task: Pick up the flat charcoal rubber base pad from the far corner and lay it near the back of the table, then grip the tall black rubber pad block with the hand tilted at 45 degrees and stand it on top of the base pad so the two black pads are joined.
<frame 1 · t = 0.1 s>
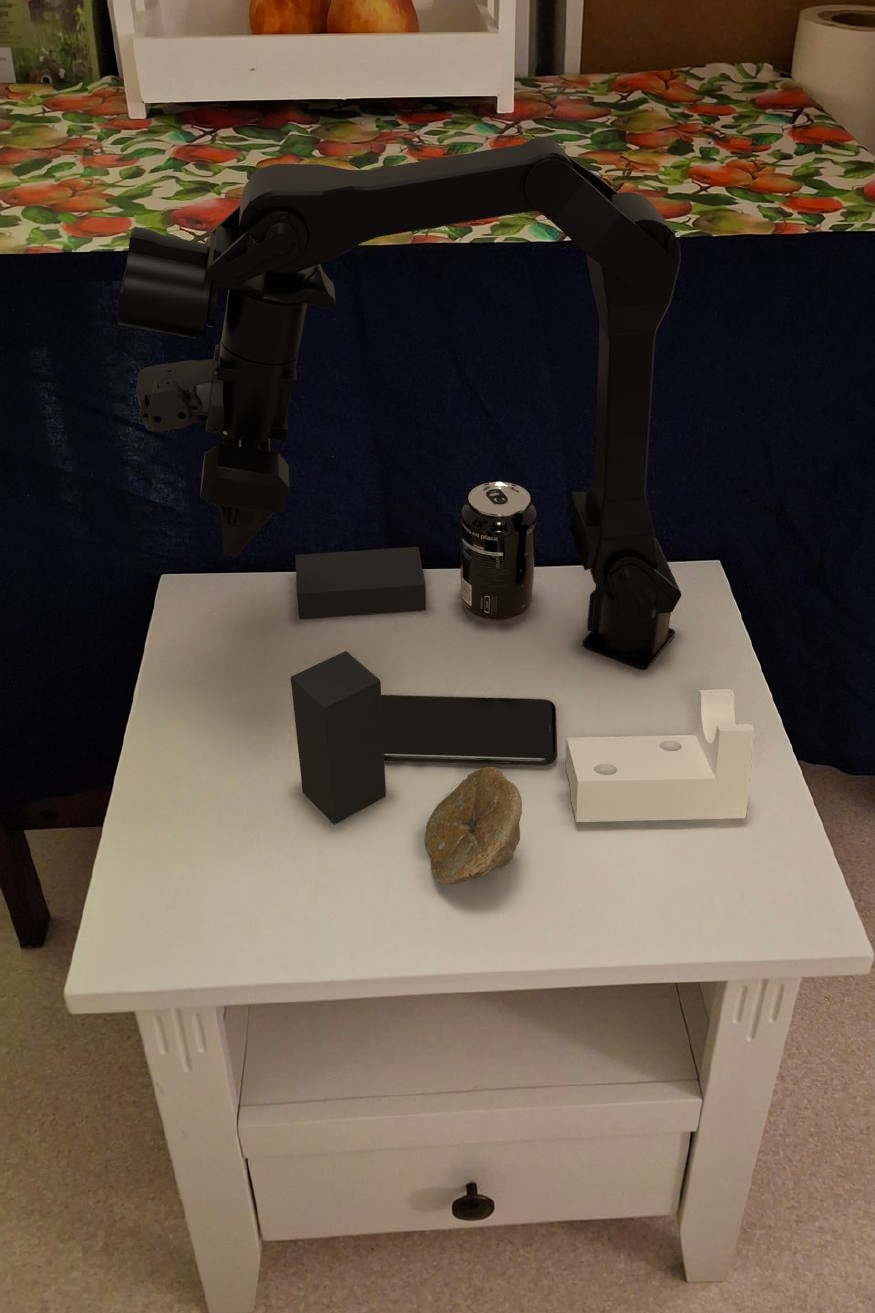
hand: (231, 523, 100), 15 cm above the table, tool pointing down, fingers open, 9 cm apart
smartphone: (460, 735, 102), on the table
beverage can: (496, 607, 116), on the table
black pad block: (344, 794, 97), on the table
bracket: (650, 789, 97), on the table
base pad: (360, 594, 118), on the table
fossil: (471, 858, 92), on the table
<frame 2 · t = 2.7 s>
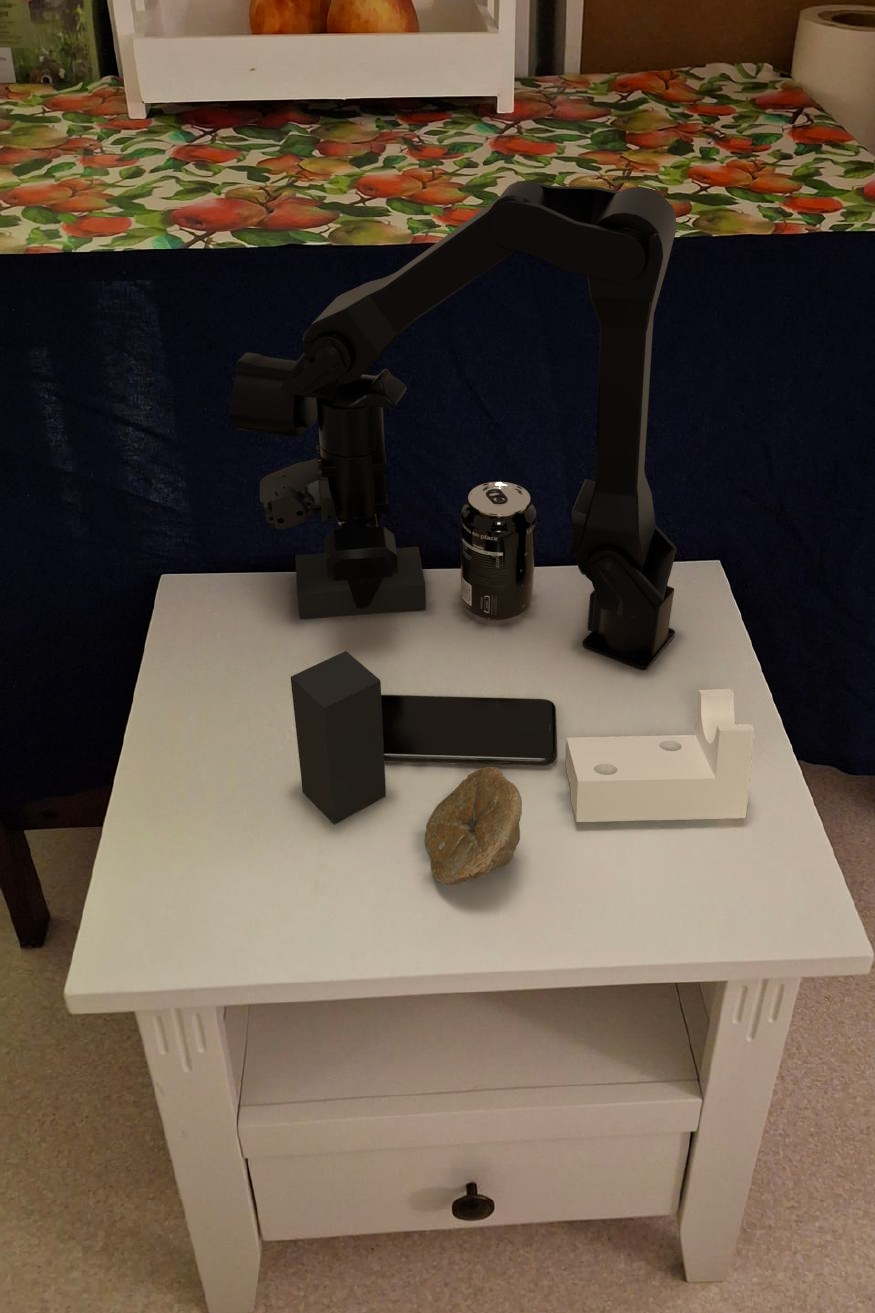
hand: (360, 586, 117), 1 cm above the table, tool pointing down, fingers closed on base pad, 6 cm apart
base pad: (360, 594, 118), on the table, touching gripper
everything else where it was.
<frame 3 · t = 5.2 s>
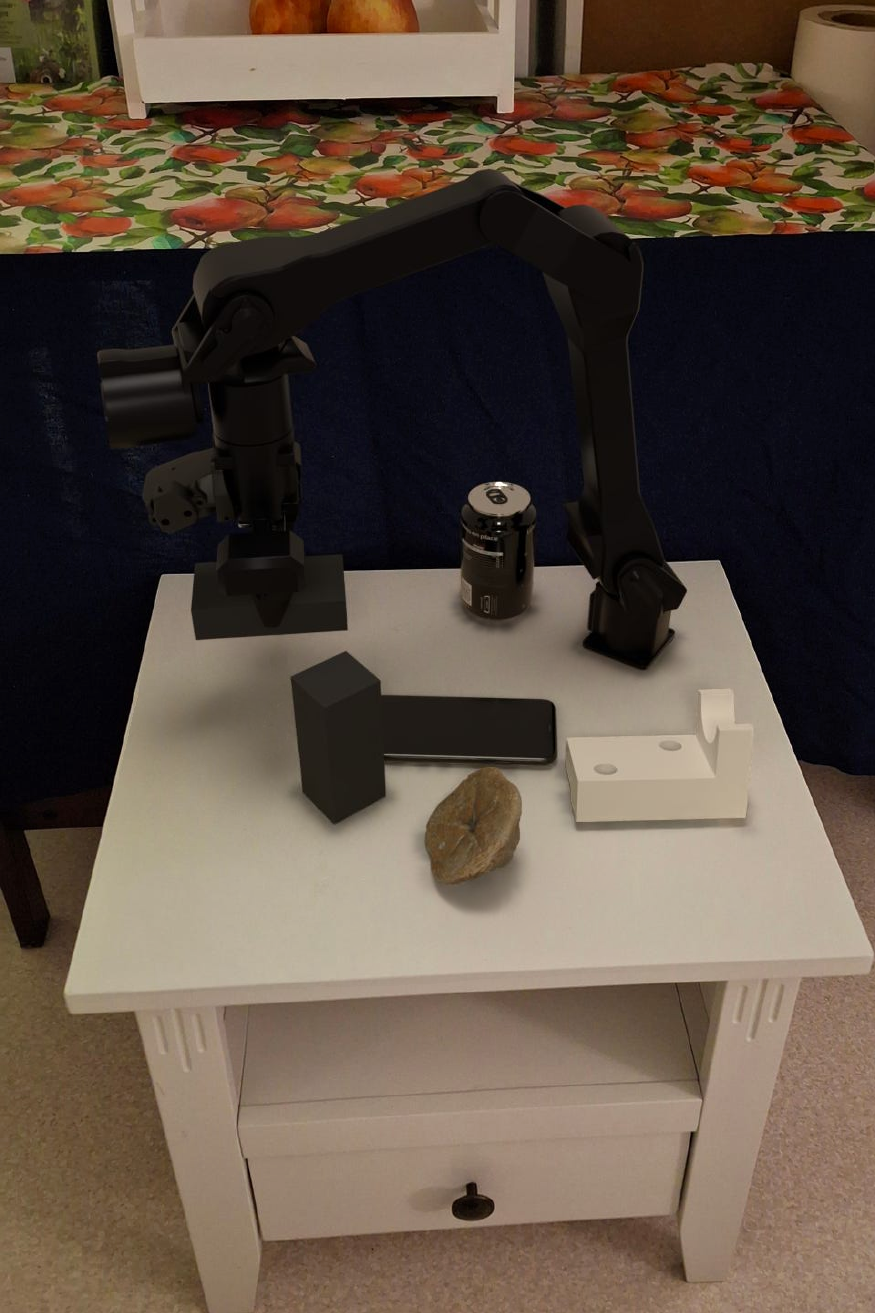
hand: (271, 600, 98), 11 cm above the table, tool pointing down, fingers closed on base pad, 6 cm apart
base pad: (272, 611, 99), point 10 cm above the table, touching gripper
everything else where it was.
when the fingers open (1 cm above the table, at t = 8.2 s): base pad stays where it is, on the table.
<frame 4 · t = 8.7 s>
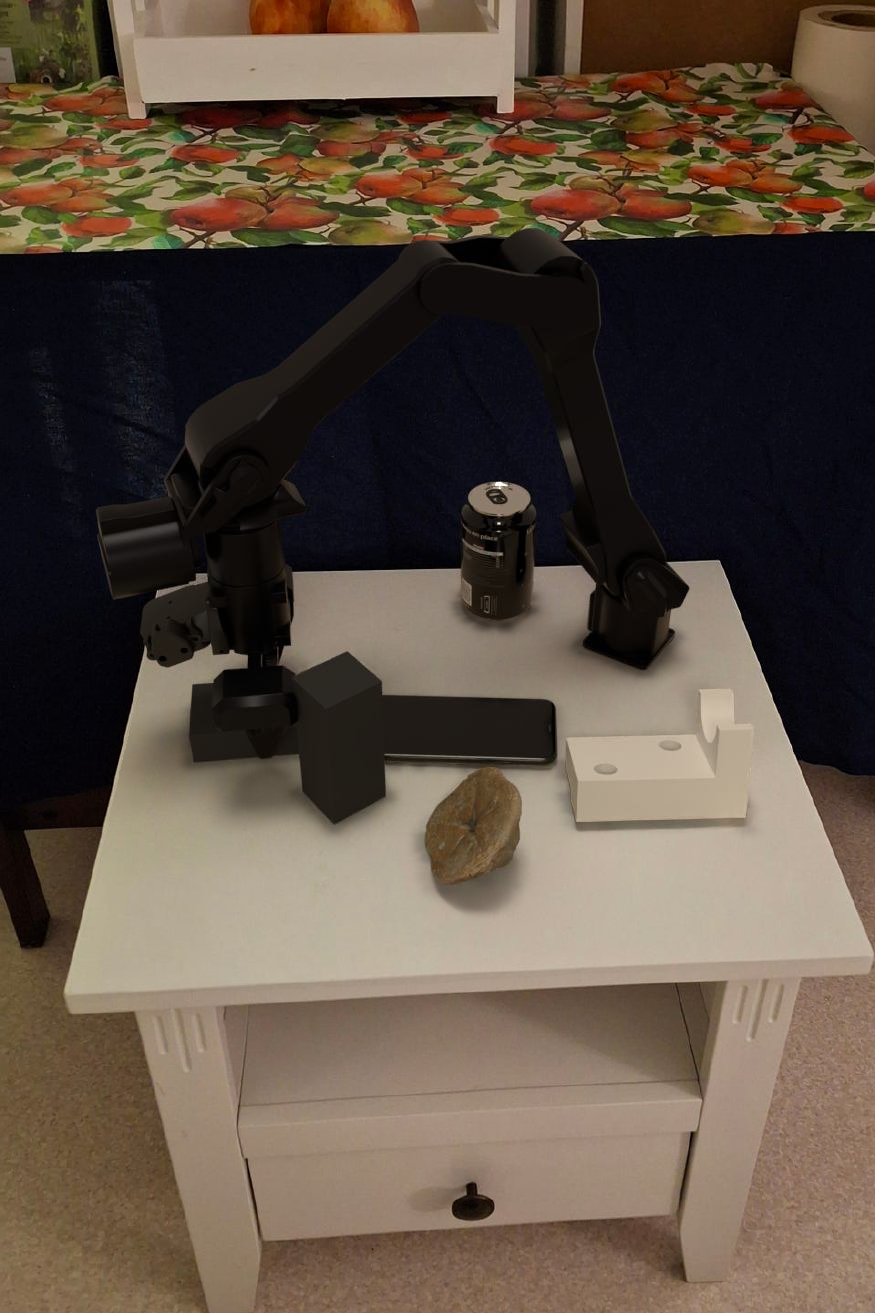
hand: (265, 719, 102), 1 cm above the table, tool pointing down, fingers open, 9 cm apart
black pad block: (344, 794, 97), on the table, touching gripper
base pad: (267, 730, 103), on the table
everything else where it was.
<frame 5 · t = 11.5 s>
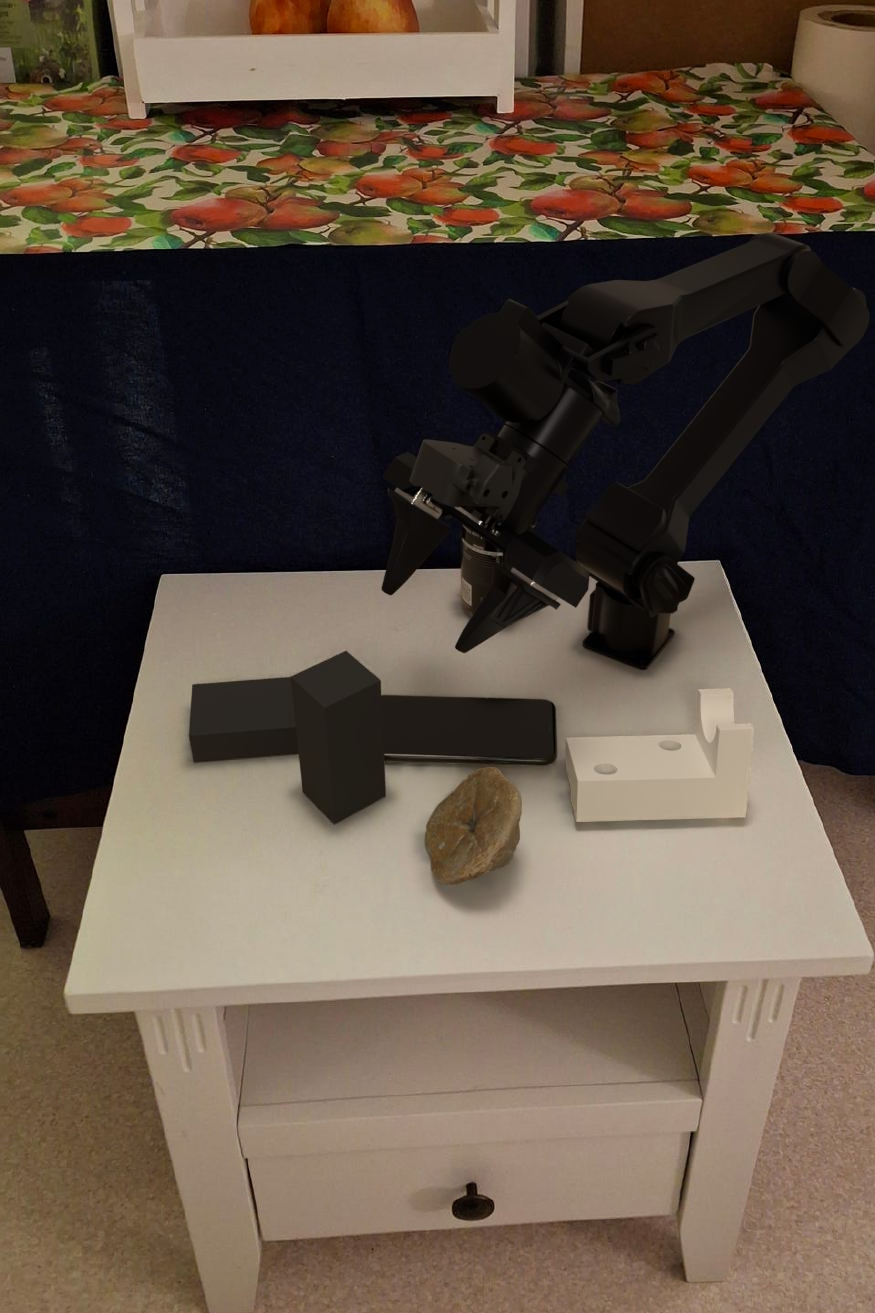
hand: (421, 621, 92), 13 cm above the table, tool tilted 45°, fingers open, 9 cm apart
black pad block: (344, 794, 97), on the table
everything else where it was.
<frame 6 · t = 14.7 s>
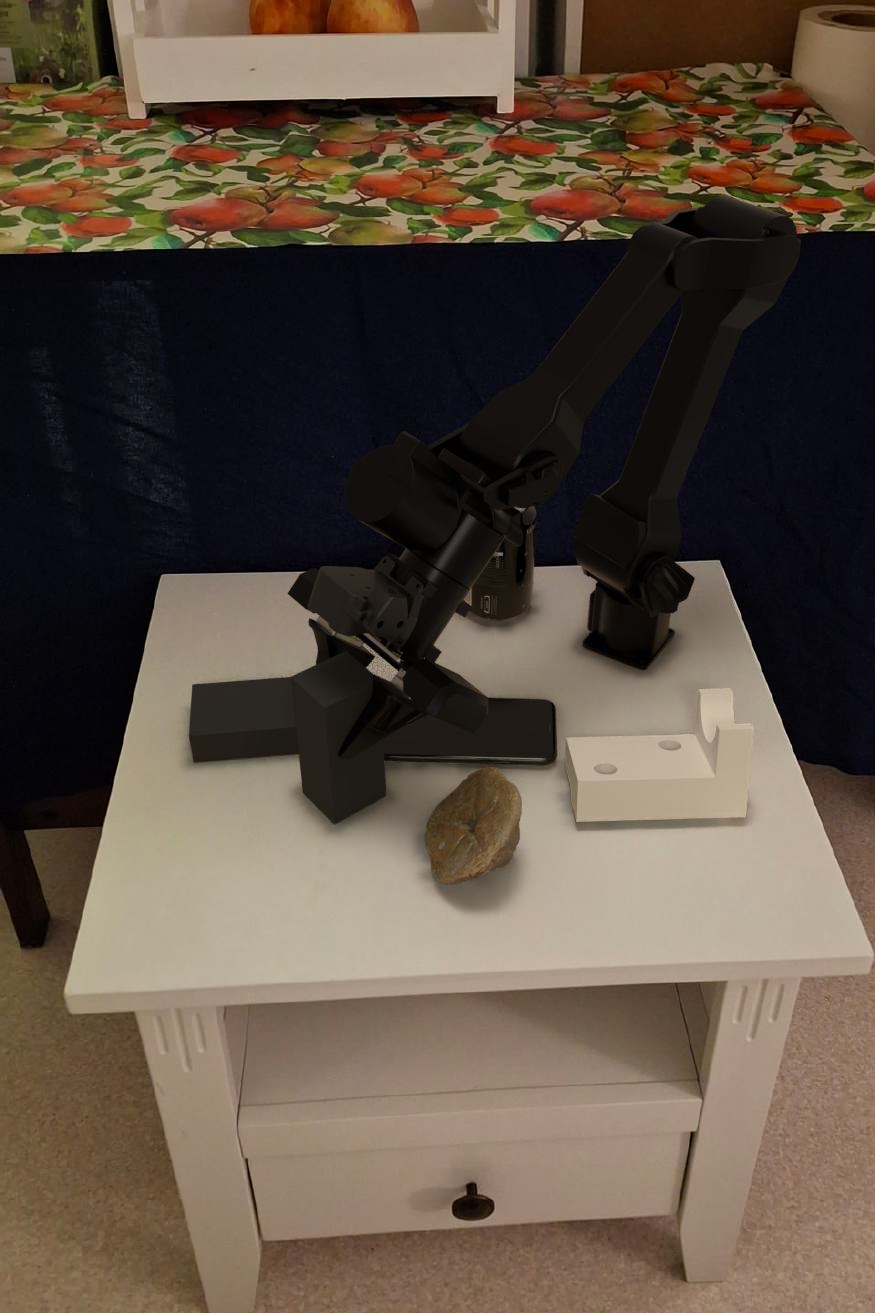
hand: (324, 740, 92), 7 cm above the table, tool tilted 45°, fingers closed on black pad block, 4 cm apart
black pad block: (344, 794, 97), on the table, touching gripper
everything else where it was.
when the fingers open (10 cm above the table, at t = 19.5 s): black pad block stays where it is, resting on base pad.
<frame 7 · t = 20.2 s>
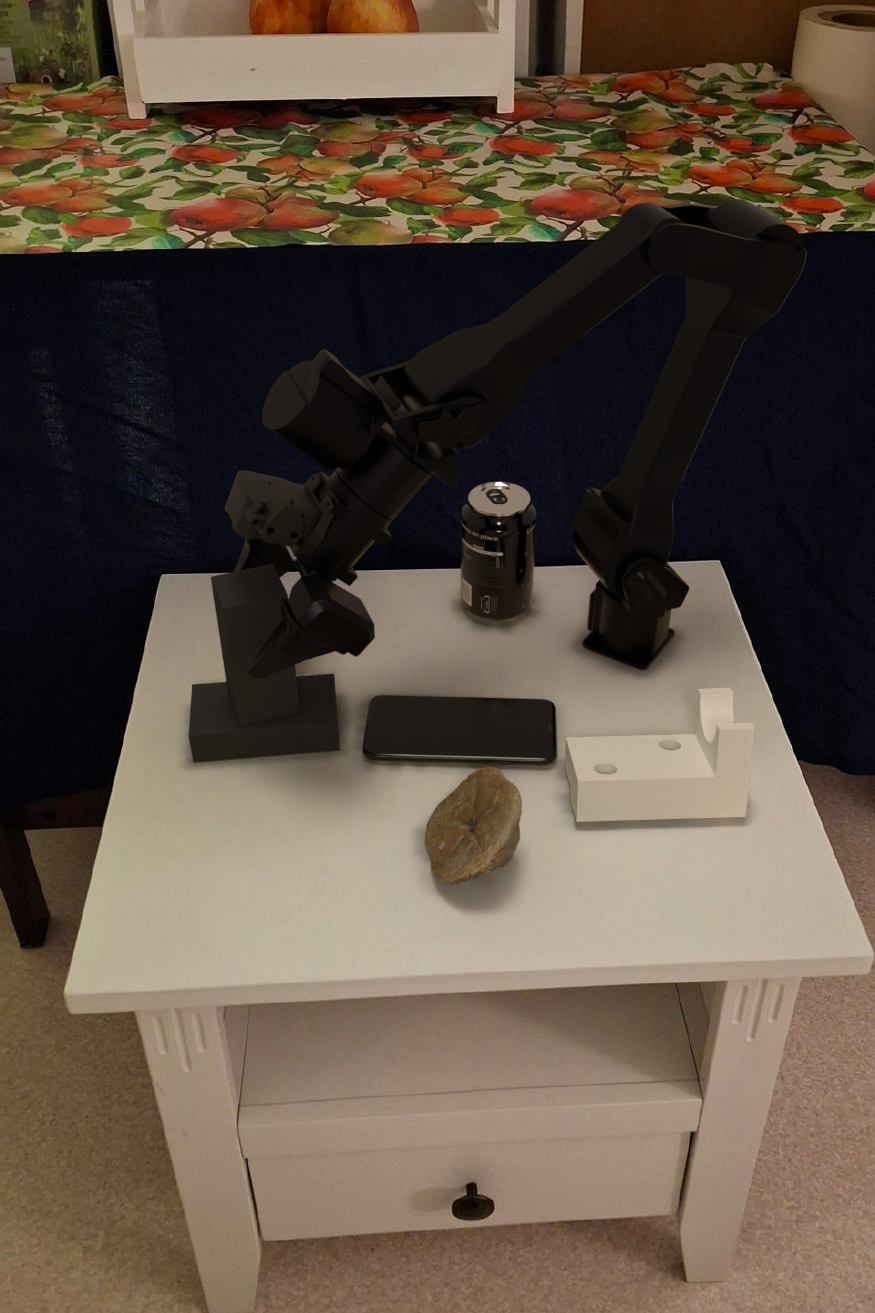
hand: (238, 641, 96), 10 cm above the table, tool tilted 45°, fingers open, 9 cm apart
black pad block: (263, 703, 101), point 3 cm above the table, touching base pad
base pad: (266, 730, 103), on the table, touching black pad block
everything else where it was.
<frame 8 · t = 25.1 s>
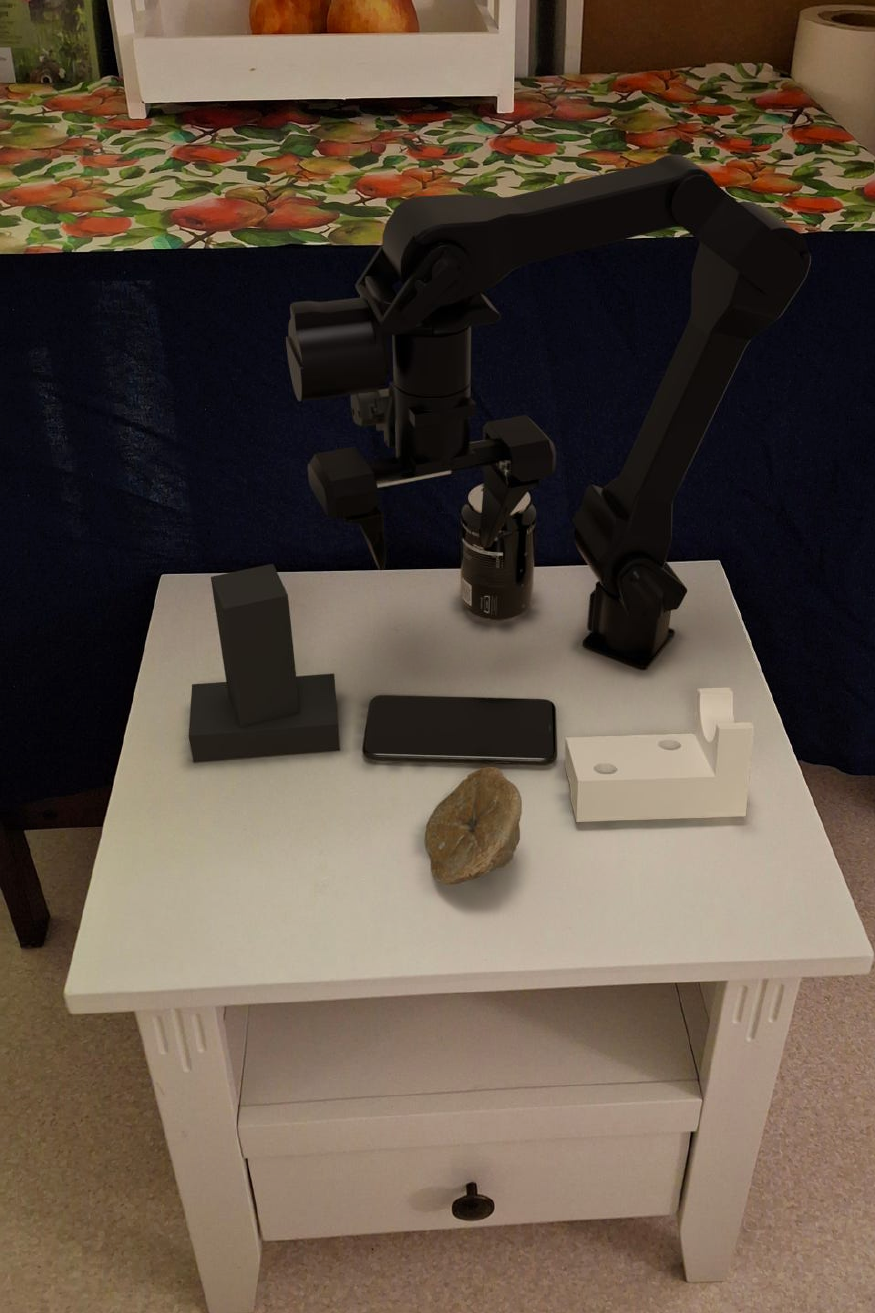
hand: (433, 556, 100), 13 cm above the table, tool pointing down, fingers open, 9 cm apart
nothing on the table moved.
at the end: black pad block 0.0 cm off-centre on the base pad, point 3.0 cm above the base pad's base; black pad block tilted 0°; base pad inside the target area (0.0 cm from its centre), on the table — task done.
